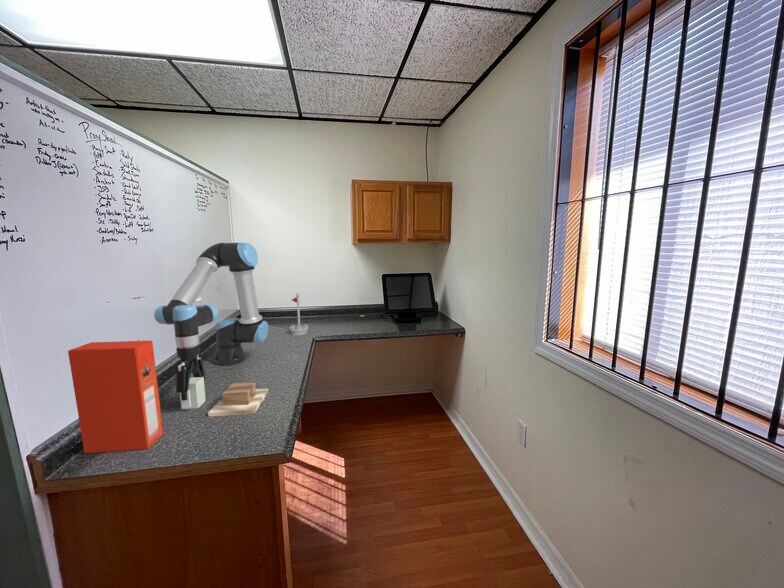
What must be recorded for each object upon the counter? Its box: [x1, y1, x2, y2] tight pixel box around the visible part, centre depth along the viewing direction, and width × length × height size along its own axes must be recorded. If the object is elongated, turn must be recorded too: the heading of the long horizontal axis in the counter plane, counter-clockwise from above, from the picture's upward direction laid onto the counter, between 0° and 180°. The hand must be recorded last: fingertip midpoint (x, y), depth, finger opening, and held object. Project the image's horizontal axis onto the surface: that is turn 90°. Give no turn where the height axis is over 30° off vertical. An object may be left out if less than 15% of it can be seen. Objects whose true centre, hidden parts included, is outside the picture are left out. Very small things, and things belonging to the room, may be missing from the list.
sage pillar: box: [179, 376, 206, 410], centre depth 119 cm, size 6×6×10 cm
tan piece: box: [207, 381, 269, 417], centre depth 120 cm, size 18×16×6 cm
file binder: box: [67, 340, 164, 455], centre depth 93 cm, size 8×17×32 cm, turn 97°
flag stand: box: [289, 292, 309, 336], centre depth 223 cm, size 13×13×30 cm
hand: (193, 401), depth 119 cm, fingers open, 9 cm apart
